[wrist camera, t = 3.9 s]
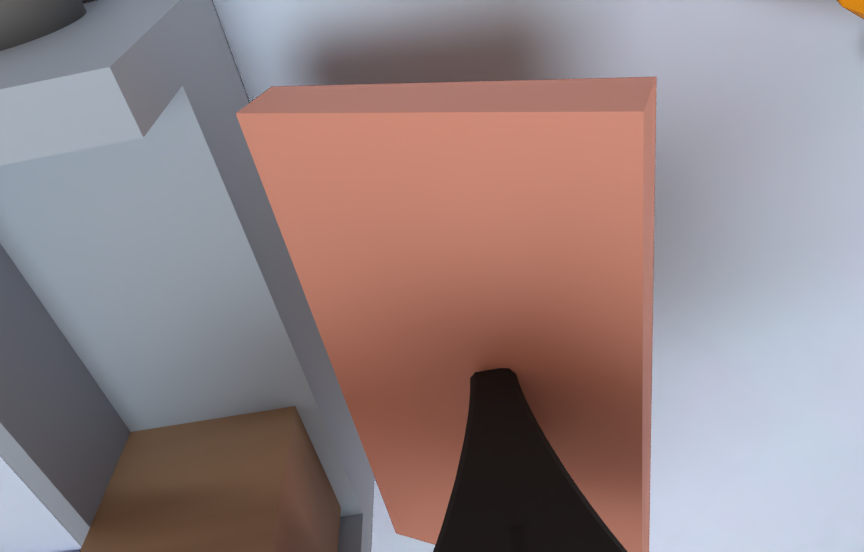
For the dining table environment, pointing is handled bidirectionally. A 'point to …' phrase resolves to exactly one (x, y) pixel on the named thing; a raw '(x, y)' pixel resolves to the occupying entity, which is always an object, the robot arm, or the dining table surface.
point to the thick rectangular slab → (476, 269)
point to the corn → (853, 6)
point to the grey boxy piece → (143, 255)
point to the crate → (219, 490)
